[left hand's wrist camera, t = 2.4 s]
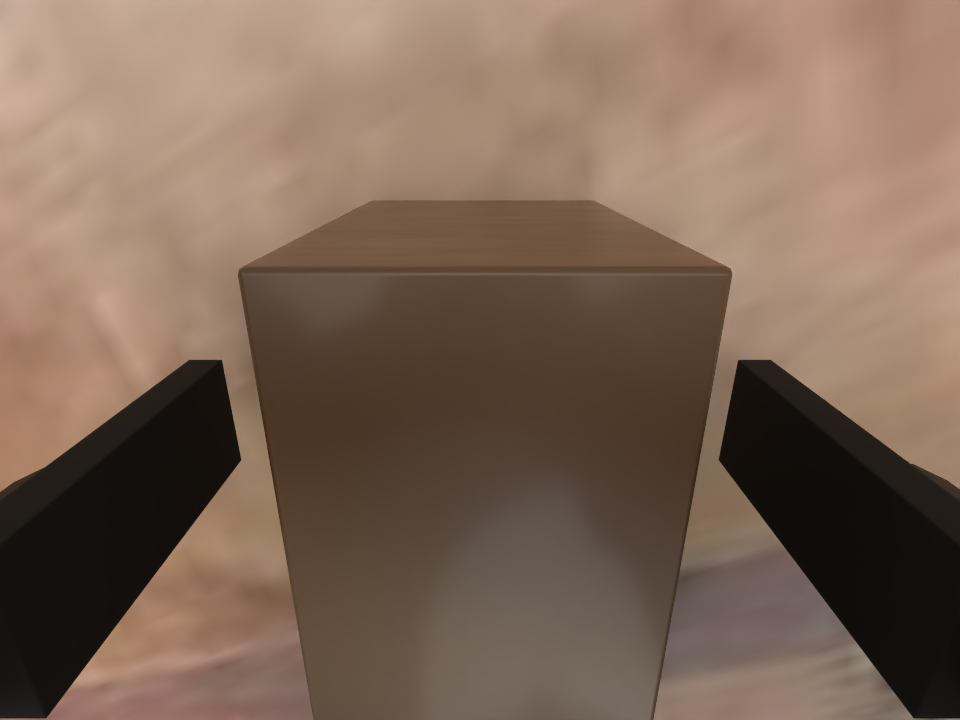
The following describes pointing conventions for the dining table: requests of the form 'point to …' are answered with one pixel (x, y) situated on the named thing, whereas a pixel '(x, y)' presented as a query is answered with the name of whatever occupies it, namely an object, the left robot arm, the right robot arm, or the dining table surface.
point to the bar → (484, 452)
